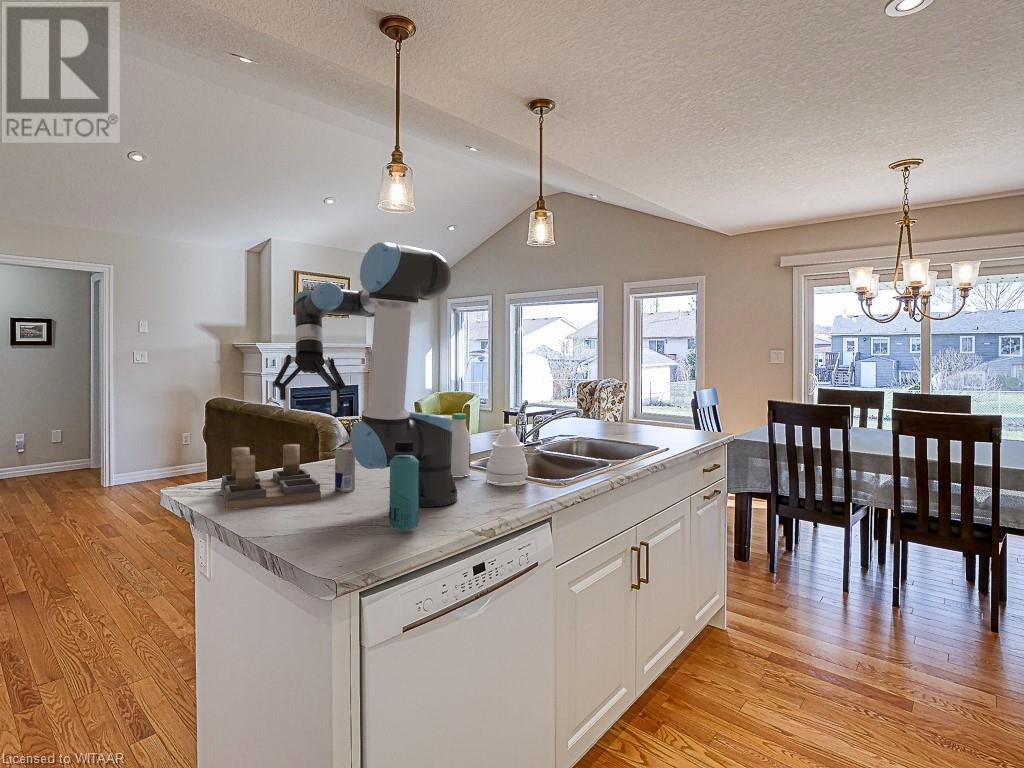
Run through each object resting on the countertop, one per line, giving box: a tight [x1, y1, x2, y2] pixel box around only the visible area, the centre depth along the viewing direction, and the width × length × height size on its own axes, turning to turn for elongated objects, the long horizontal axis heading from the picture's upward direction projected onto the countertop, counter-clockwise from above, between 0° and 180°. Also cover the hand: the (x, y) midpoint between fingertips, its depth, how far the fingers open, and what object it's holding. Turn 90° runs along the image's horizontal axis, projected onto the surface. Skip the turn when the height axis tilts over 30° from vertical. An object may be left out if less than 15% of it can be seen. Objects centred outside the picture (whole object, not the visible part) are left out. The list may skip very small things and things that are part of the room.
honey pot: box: [485, 423, 529, 483], centre depth 170 cm, size 13×13×18 cm
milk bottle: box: [451, 412, 472, 476], centre depth 176 cm, size 8×8×20 cm
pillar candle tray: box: [220, 443, 322, 510], centre depth 148 cm, size 22×22×12 cm
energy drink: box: [334, 446, 356, 493], centre depth 154 cm, size 5×5×12 cm
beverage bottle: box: [388, 440, 420, 530], centre depth 119 cm, size 6×7×20 cm
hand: (310, 412), depth 158 cm, fingers open, 13 cm apart
